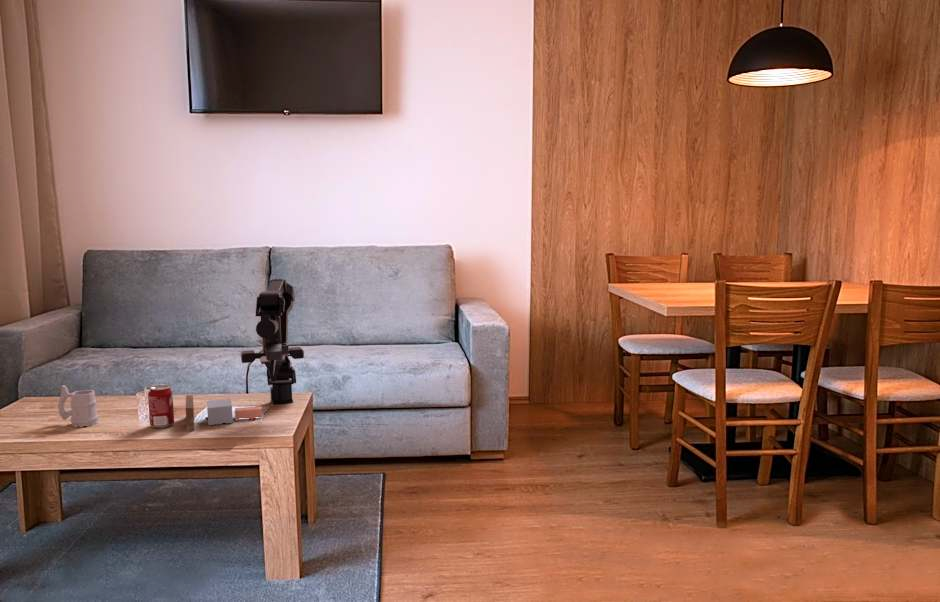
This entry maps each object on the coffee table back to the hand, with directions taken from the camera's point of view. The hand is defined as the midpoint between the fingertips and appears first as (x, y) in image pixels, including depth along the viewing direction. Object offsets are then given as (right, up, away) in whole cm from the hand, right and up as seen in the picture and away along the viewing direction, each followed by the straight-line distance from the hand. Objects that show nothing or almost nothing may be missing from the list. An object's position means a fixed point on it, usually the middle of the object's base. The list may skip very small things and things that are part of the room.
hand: (273, 381), depth 227 cm
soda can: (-31, -13, -9) cm, 35 cm away
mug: (-58, -12, -7) cm, 59 cm away
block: (-15, -12, -4) cm, 20 cm away
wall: (-23, -12, -7) cm, 27 cm away
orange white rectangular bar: (-7, -11, -1) cm, 14 cm away
